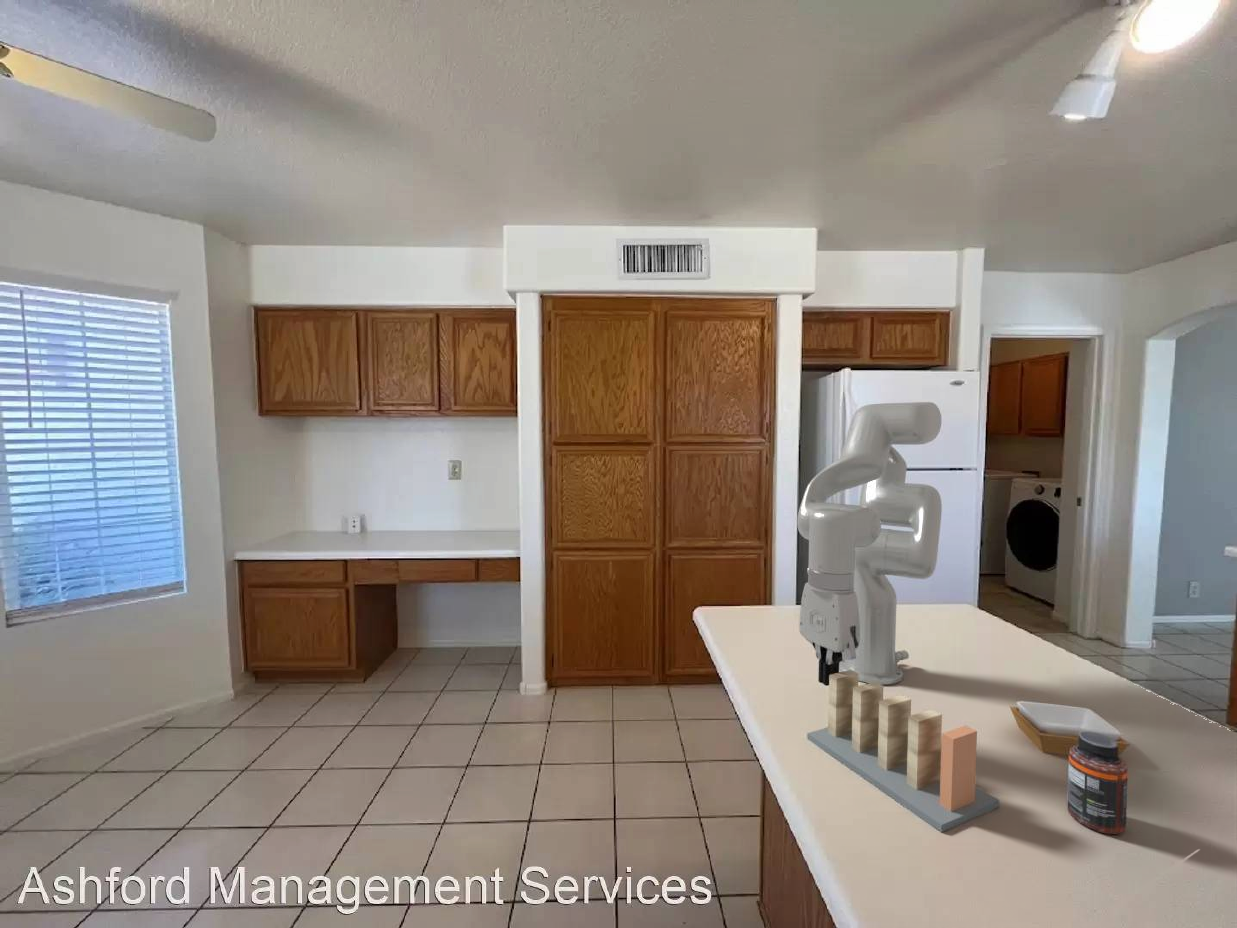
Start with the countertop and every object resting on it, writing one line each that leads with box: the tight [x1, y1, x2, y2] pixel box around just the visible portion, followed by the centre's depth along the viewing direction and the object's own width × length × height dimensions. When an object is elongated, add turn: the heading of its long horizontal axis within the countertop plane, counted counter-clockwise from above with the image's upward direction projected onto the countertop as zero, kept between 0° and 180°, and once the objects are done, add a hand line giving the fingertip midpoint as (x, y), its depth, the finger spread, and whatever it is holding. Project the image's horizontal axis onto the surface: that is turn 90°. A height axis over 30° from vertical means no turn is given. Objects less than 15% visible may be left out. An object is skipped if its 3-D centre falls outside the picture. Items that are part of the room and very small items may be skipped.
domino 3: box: [878, 694, 912, 770], centre depth 84 cm, size 5×2×10 cm, turn 114°
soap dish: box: [1009, 700, 1129, 757], centre depth 91 cm, size 12×10×5 cm
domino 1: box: [827, 670, 859, 737], centre depth 93 cm, size 5×2×10 cm, turn 114°
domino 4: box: [907, 709, 943, 790], centre depth 79 cm, size 5×2×10 cm, turn 114°
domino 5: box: [940, 725, 978, 811], centre depth 75 cm, size 5×2×10 cm, turn 114°
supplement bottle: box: [1067, 731, 1129, 835], centre depth 73 cm, size 6×6×11 cm
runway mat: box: [806, 727, 1000, 833], centre depth 84 cm, size 12×24×1 cm, turn 24°
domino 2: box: [852, 682, 884, 752], centre depth 88 cm, size 5×2×10 cm, turn 114°
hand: (828, 682), depth 96 cm, fingers closed
